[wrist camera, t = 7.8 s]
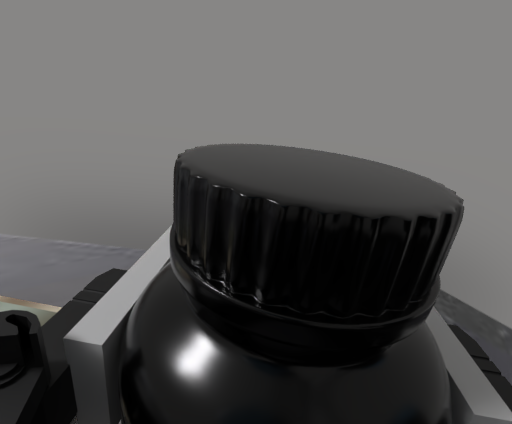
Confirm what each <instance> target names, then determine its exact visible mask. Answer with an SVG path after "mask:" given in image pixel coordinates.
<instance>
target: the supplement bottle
mask: <svg viewBox="0 0 512 424" xmlns="http://www.w3.org/2000/svg"><path fill="white" fill-rule="evenodd" d="M463 213H464V206H463V199H461V198H460V197H458V196H457V195H456V192H454V191H452V190H450V189H448V188H446V187H445V186H444V185H443V184H440V183H437V182H435V181H432V180H431V179H429V178H426V177H424V176H421V175H418V174H415V173H413V172H410V171H407V170H403V169H400V168H397V167H393V166H390V165H386V164H382V163H379V162H375V161H371V160H366V159H361V158H357V157H351V156H347V155H341V154H336V153H330V152H324V151H318V150H311V149H303V148H295V147H285V146H276V145H275V146H274V145H261V144H219V145H207V146H200V147H195V148H194V149H189V150H185V152H184V153H181V154H178V158H177V160H176V163H175V167H174V222H173V224H172V227H171V230H170V239H169V241H170V262H169V263H168V264H167V265H166V266H165V267H163V268H162V269H161V270H160V271H159V272H158V273H157V274H156V275H155V276H154V278H153V279H152V280H151V281H150V282H149V283H148V285H147V286H146V287H145V289H144V290H143V292H142V293H141V294H140V296H139V298H138V299H137V301H136V303H135V305H134V307H133V308H132V310H131V313H130V315H129V317H128V320H127V322H126V325H125V328H124V332H123V335H122V339H121V343H120V350H119V360H118V384H119V403H120V413H121V423H122V424H453V405H452V393H451V388H450V383H449V378H448V373H447V370H446V366H445V363H444V360H443V357H442V354H441V351H440V349H439V347H438V344H437V342H436V340H435V338H434V336H433V334H432V332H431V330H430V329H429V327H428V325H427V323H426V322H425V321H426V319H427V317H428V316H429V314H430V312H431V310H432V308H433V306H434V304H435V302H436V299H437V297H438V294H439V291H440V276H439V274H440V272H441V270H442V267H443V265H444V263H445V260H446V258H447V256H448V253H449V251H450V249H451V246H452V244H453V241H454V239H455V236H456V234H457V232H458V229H459V227H460V224H461V221H462V218H463Z"/></svg>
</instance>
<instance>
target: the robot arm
mask: <svg viewBox="0 0 512 424" xmlns="http://www.w3.org/2000/svg"><path fill="white" fill-rule="evenodd" d="M171 227H172V225H171V226H170V228H169V229H168V230H167V231H166V232H165V233H164V234H163V235H162V236H161V237H160V238H159V239H158V240H157V241H156V242H155V243H154V244H153V245H152V246H151V247H150V248H149V249H148V250H147V251H146V252H145V254H144V255H143V256H142V257H141V258H140V259H139V260H138V261H137V262H136V263H135V264H134V265H133V266H132V267H131V268H130V269H129V270H128V271H126V270H120V269H114V268H113V269H111V270H109V271H107V272H105V273H103V274H101V275H99V276H97V277H96V278H95V279H94V280H93V281H91V282H90V283H89V284H88V285H87V286H86V287H85V288H84V290H83V291H80V292H79V293H78V294H77V295H76V296H75V297H74V298H73V300H72V301H69V302H68V303H67V304H66V305H65V306H64V307H63V308H61V309H60V310H59V311H58V312H57V313H56V314H55V315H54V316H53V317H51V318H50V319H49V320H48V321H47V322H46V323H45V324H44V325H43V326H41V324H40V321H39V319H38V317H37V315H35V314H33V313H31V312H29V311H24V310H8V311H2V312H0V424H70V422H71V421H72V419H73V418H74V416H75V415H76V416H77V421H78V424H118V423H119V422H120V420H121V413H120V403H119V384H118V360H119V350H120V343H121V339H122V335H123V332H124V328H125V325H126V322H127V320H128V317H129V315H130V313H131V310H132V308H133V307H134V305H135V303H136V301H137V299H138V298H139V296H140V294H141V293H142V292H143V290H144V289H145V287H146V286H147V285H148V283H149V282H150V281H151V280H152V279H153V278H154V276H155V275H156V274H157V273H158V272H159V271H160V270H161V269H162V268H163V267H165V266H166V265H167V264H168V263H169V262H170V241H169V239H170V230H171ZM425 322H426V323H427V325H428V327H429V329H430V330H431V332H432V334H433V336H434V338H435V340H436V342H437V344H438V347H439V349H440V351H441V354H442V357H443V360H444V363H445V366H446V370H447V373H448V378H449V383H450V388H451V393H452V405H453V424H512V386H511V384H510V383H509V382H508V381H507V379H506V378H505V377H503V376H501V372H500V371H499V369H498V368H497V367H496V366H495V364H494V363H493V362H492V361H489V357H488V356H487V355H486V353H485V352H484V351H483V350H482V348H481V347H480V346H479V345H478V343H477V342H476V341H475V340H474V339H472V338H471V337H470V336H469V335H468V334H466V333H465V332H464V331H463V330H461V329H460V328H459V327H458V326H455V325H449V324H446V322H445V321H444V320H443V318H442V317H441V316H440V314H439V313H438V311H437V310H436V309H435V307H434V306H433V308H432V310H431V312H430V314H429V316H428V317H427V319H426V321H425Z"/></svg>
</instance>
